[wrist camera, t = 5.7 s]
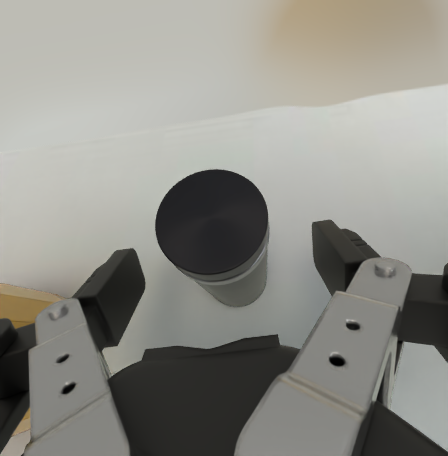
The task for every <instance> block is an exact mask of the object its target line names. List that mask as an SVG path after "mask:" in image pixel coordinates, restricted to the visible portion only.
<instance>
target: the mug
mask: <svg viewBox="0 0 448 456" xmlns="http://www.w3.org/2000/svg"><path fill="white" fill-rule="evenodd" d="M63 299H67V298H65V297H62V296H59V295H57V294H52V293H47V292H42V291H37V290H33V289H28V288H23V287H18V286H13V285H8V284H3V283H0V319H2V318H8V319H10V320H11V322H12V324H13V325H14V327H15V329H17V328H20V327H23V326H26V325H29V324H32V323H35V318H36V316H37V315H38V314H39V313H40V312H41V311H42V310H43V309H45V308H46V307H48V306H49V305H51V304H53V303H55V302H57V301H60V300H63ZM30 429H31V423H30V408H29V409H28V411H27V412H26V414H25V416H24V417H23V419H22V420H21V422H20V424H19V425H18V427H17V428H16V430H15V431H14V433H13V435H12V436H14V435H17V434H19V433H22V432H25V431H27V430H30ZM12 436H11V437H12Z"/></svg>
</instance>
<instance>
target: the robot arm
mask: <svg viewBox="0 0 448 456" xmlns="http://www.w3.org/2000/svg"><path fill="white" fill-rule="evenodd" d="M312 241H313V257H314V263H315V266H316V268H317V270H318V272H319V274H320V276H321V278H322V279H323V281H324V283H325V285H326V287H327V288H328V290H329V292H330V294H331V296H332V298H331V300H330V301H329V303H328V305H327V306H326V308H325V310H324V311H323V313H322V315H321V316H320V318H319V320H318V321H317V323H316V325H315V326H314V328H313V330H312V331H311V333H310V335H309V336H308V338H307V339H306V341H305V343H304V344H303V346H302V348H301V349H297V348H294V347H289V346H283V345H280V343H279V338H278V334H277V335H268V336H260V337H251V338H243V339H240V340H237V341H234V342H231V343H228V344H225V345H222V346H218V347H215V348H212V349H201V348H192V347H183V346H171V347H162V348H153V349H145V352H144V355H143V357H142V360H141V361H139V362H137V363H134V364H132V365H130V366H128V367H126V368H124V369H122V370H121V371H119V372H117V373H116V374H114V375H113V376H112V375H111V373H110V370H109V368H108V365H107V363H106V360H105V358H104V355H103V353H102V350H103V348H104V347H113V346H118V344H119V342H120V340H121V338H122V336H123V334H124V332H125V330H126V328H127V326H128V324H129V321H130V319H131V317H132V315H133V313H134V311H135V309H136V307H137V305H138V303H139V301H140V299H141V297H142V295H143V293H144V290H145V278H144V274H143V271H142V268H141V265H140V262H139V259H138V256H137V253H136V251H135V250H134V249H133V248H130V249H123V250H117V251H115V252H114V253H113V254H112V256H111V257H110V258H109V259H108V260H107V262H106V263H104V264H103V265H102V266H100V267H99V268H97V269H96V270H95V271H94V272H93V274H92V275H91V277H89V278H88V279H87V281H86V283H84V284H83V285H82V286H81V288H80V289H79V290H78V291H77V292H76V293H75V294H74V296H73V297H72V298H68V299H63V300H60V301H57V302H55V303H53V304H51V305H49V306H48V307H46V308H45V309H43V310H42V311H41V312H40V313H39V314H38V315H37V316H36V318H35V323H32V324H29V325H26V326H23V327H20V328H17V329H15V327H14V325H13V324H12V322H11V320H10V319H8V318H2V319H0V454H1V452H2V451H3V449H4V447H5V446H6V444H7V443H8V441H9V439H10V438H11V436H12V435H13V433H14V431H15V430H16V428H17V427H18V425H19V424H20V422H21V420H22V419H23V417H24V416H25V414H26V412H27V411H28V409H29V408H30V423H31V440H30V442H29V443H28V444H27V445H26V447H25V450H24V453H23V454H22V455H21V456H448V452H447V451H446V450H445V449H443V448H442V447H440V446H439V445H438V444H436V443H435V442H434V441H432V440H431V439H429V438H428V437H427V436H425V435H424V434H423V433H421V432H420V431H418V430H417V429H416V428H414V427H413V426H412V425H410V424H409V423H407V422H406V421H405V420H403V419H402V418H401V417H399V416H398V415H396V414H395V413H394V412H392V411H391V410H390V407H391V401H392V394H393V389H394V384H395V380H396V376H397V372H398V368H399V363H400V359H401V355H402V351H403V347H404V342H412V343H419V344H427V345H434V346H435V347H436V349H437V350H438V351H439V352H440V354H441V355H442V356H443V358H444V359H445V360H446V361H447V363H448V263H447V264H446V265H445V266H444V272H443V275H426V274H414V273H412V270H411V268H410V267H409V266H408V265H407V264H405V263H403V262H401V261H399V260H395V259H391V258H382V257H381V256H380V255H379V254H377V253H376V252H375V251H374V250H373V249H372V248H371V247H370V246H369V245H367V243H366V242H365V241H364V240H362V238H361V237H360V236H359V235H358V234H356V233H355V232H352V231H350V230H348V229H340V228H339V227H338V226H337V225H336V224H335V223H334V222H333V221H332V220H324V221H317V222H313V223H312Z"/></svg>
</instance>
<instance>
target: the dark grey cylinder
mask: <svg viewBox="0 0 448 456" xmlns="http://www.w3.org/2000/svg"><path fill="white" fill-rule="evenodd" d="M155 230H156V237H157V241H158V244H159V246H160V248H161V250H162V252H163V253H164V255H165V256H166V257H167V258H168V259H169V260H170V261H171V262H172V263H173V264H174V265H175V266H176V268H177V269H178V270H180V271H181V272H182V273H183V274H184V275H186V276H187V277H189V278H190V279H192V280H194V281H195V282H197V283H198V284H199V285H200V286H202V287H203V288H204V289H205V290H207V291H208V292H209V293H210V294H211V295H213V296H214V297H215V298H216V299H218V300H219V301H220V302H222V303H224V304H226V305H229V306H233V307H241V306H246V305H248V304H250V303H252V302H254V301H255V300H256V299H257V298H258V297H259V296H260V295H261V294H262V292H263V290H264V288H265V285H266V279H267V246H268V242H269V221H268V210H267V206H266V202H265V200H264V198H263V196H262V194H261V192H260V191H259V189H258V188H257V187H256V186H255V185H254V184H253V183H252V182H251V181H249V180H248V179H246V178H245V177H243V176H241V175H239V174H237V173H234V172H231V171H226V170H218V169H216V170H205V171H201V172H197V173H194V174H192V175H189V176H187V177H186V178H184V179H182V180H181V181H179V182H178V183H177V184H176V185H174V186H173V187H172V188H171V189H170V190H169V191H168V193H167V194H166V195H165V197H164V198H163V200H162V202H161V204H160V206H159V209H158V212H157V215H156V222H155Z"/></svg>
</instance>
